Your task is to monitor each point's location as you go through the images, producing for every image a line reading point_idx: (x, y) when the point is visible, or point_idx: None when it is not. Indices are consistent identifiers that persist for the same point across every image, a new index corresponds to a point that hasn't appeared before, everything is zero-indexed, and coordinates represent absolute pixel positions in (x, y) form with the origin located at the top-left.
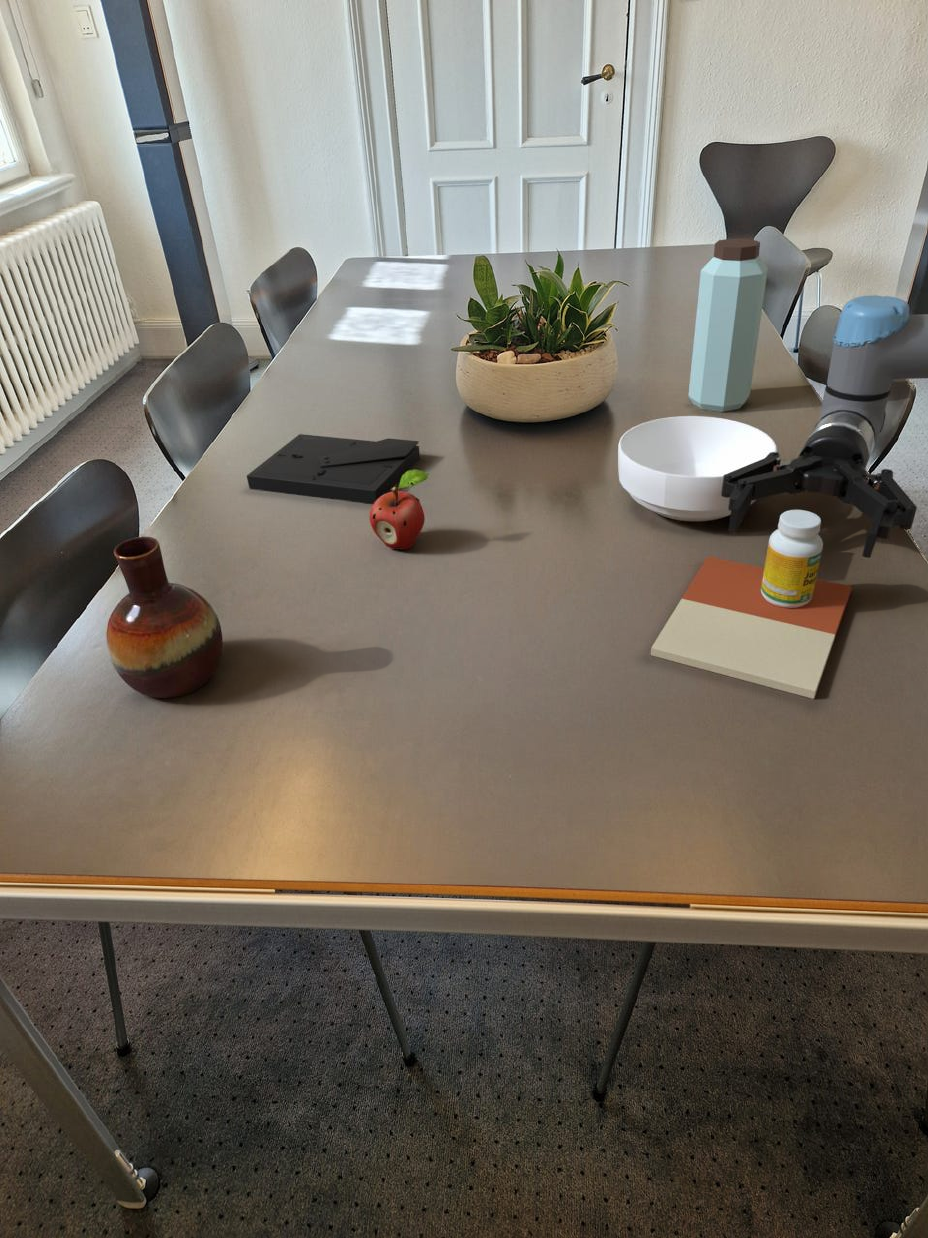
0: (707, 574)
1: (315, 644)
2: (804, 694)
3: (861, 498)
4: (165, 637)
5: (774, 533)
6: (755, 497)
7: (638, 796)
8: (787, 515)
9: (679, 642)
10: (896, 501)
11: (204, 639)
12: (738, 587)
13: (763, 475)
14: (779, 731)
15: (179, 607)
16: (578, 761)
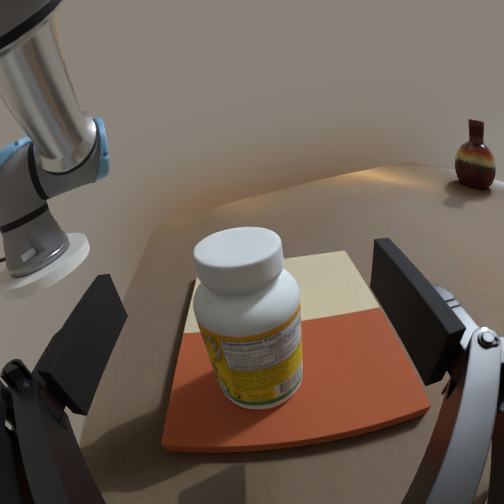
0: (394, 364)
1: (475, 201)
2: None
3: (79, 485)
4: (458, 149)
5: (289, 276)
6: (441, 412)
7: (277, 208)
8: (266, 242)
9: (329, 262)
10: (9, 365)
11: (462, 159)
12: (335, 362)
13: (483, 419)
14: None
15: (468, 145)
16: (315, 207)
